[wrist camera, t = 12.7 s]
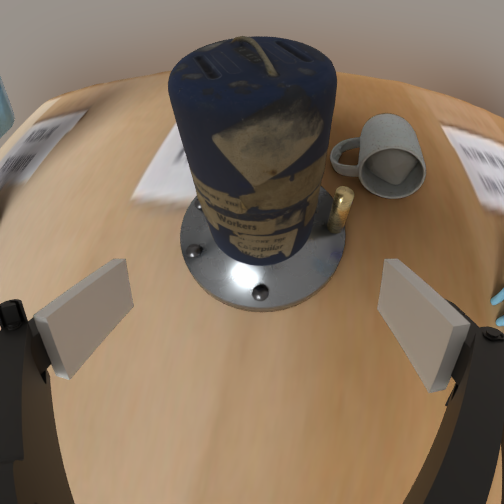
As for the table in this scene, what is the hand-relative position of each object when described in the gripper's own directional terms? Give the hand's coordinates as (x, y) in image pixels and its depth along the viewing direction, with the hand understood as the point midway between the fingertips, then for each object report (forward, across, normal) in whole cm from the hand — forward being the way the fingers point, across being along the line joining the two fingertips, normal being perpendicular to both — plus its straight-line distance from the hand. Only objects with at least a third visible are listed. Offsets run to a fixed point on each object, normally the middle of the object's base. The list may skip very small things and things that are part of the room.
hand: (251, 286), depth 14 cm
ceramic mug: (+22, +13, +5) cm, 26 cm away
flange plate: (+16, 0, -1) cm, 16 cm away
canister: (+15, 0, 0) cm, 15 cm away
